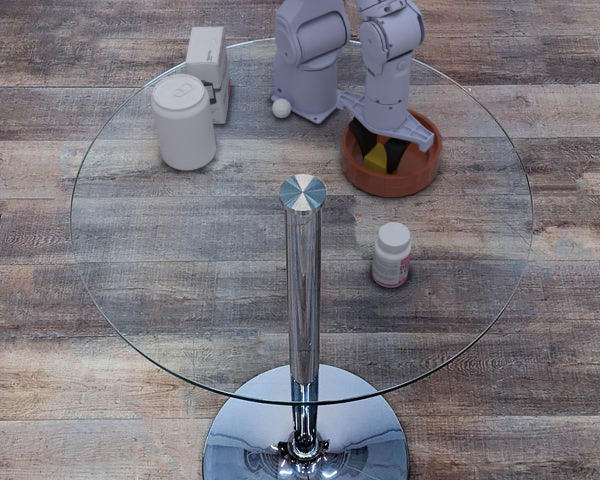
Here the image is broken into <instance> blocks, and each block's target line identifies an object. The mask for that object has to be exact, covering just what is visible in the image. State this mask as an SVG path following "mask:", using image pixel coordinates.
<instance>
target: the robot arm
mask: <svg viewBox="0 0 600 480" xmlns="http://www.w3.org/2000/svg"><path fill="white" fill-rule="evenodd" d="M353 2H354V3H355V6H356V9H357V11H358V12H357V13H358V14H359V17H360V19H361V22H362V23H361V24H360V26H359V27H357V35H358V39H359V43H360V46H361V49H362V60H363V64H364V65H365V66H366V67H365V68H366V69H365V85H364V94H360V93H354V92H352V91H349V90H347V89H344V90H341V89H340V88H338V58H339V56H340V55H342V54H343V47H345V46H347V45H348V44H349V43H350V40H351V37H352V36H351V35H352V29H351V23H350V19H349V17H348V15H347V11H346V8H345V2H344V0H284V1H282V4H281V5H280V6H279V7H278V9H276V11H275V13H274V16H275V31H274V40H275V45H276V48H277V50H276V51H275V54H274V57H273V60H272V81H273V95H271V97H270V100H271V101H272V102H273V103H274V102H275V101H276V100H278V99H281V98H282V99H286V100H287V101H288V102H290V105H291V108H292V109H291V113H295V114H296V115H297V116H300V117H302V118H304V119H305V120H308V121H310V122H312V123H314V124H315V125H320V124H322V123H323V122H324V121H325V120H326V119H327V118H328V117H329V116H330V115H331V114H333V112H335V110H336V109H338V110H340V111H345V110H348V111H349V112H350V113H351V114H352V115H353V117H352V119H353V120H352V119H351V120H352V121H351V120H350V121H351V122H350V121H349V122H350V123H349V122H348V123H349V130H350V132H351V133H352V134H353V135H354V137H355V139H356V140H357V142H358V145H359V147H360V150H361V154H362V157H363V160H364V157H365V156H366V155H367V154H368V153H369V152H370V151H371V150H372V149H373V148H374V147H375V146H376V145H377V134H379V135H383V136H388V137H390V138H389V140H388V141H387V142H386V143H385V144H384V148H385V151H386V155H387V164H386V168H387V173H389V174H392V173H393V172H394V171H395V170H396V169H397V168H398V166H399V163H400V161H401V158H402V156H403V154H404V152H405V151H406V149H407V148H408V146H409V145H410V143H411V142H413V143H415V144H417V145H419V150H421V151H423V152H426V151H427V150H428V149H429V148H430V147H431V146H432V145H433V139H434V134H433V133H432V132H430V131H428V130H427V129H426V128H425V127H423V126H422V125H421V124H420V123H419V122H418V121H417V120H416V119H415V118H414V117H413V116H412V115H411V114H410V113H409V112H408V111H407V109H408V102H409V93H410V85H411V76H412V65H413V56H414V49H416V48H418V47H420V46H421V45H423V43H424V42H425V39H426V25H425V21H424V18H423V14H422V12H421V10H420V9H419V8H418V6H417V5H416V4H415V3H414V1H413V0H353Z"/></svg>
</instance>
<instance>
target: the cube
mask: <svg viewBox="0 0 600 480" xmlns="http://www.w3.org/2000/svg"><path fill="white" fill-rule="evenodd" d="M386 164H387V155H386V151H385V148H384V145H382V144H380V143H378V144H377V145H376V146H375V147H374V148H373V149H372V150H371V151H370V152H369V153H368V154H367V155H366V156H365V157H364V168H366V169H368V170H370V171H372V172H376V173H380V174H385V175H391V174H389V173H387V168H386Z"/></svg>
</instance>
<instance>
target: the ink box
mask: <svg viewBox="0 0 600 480" xmlns="http://www.w3.org/2000/svg"><path fill="white" fill-rule="evenodd" d="M225 32H226V31H225V27H224V26H193V27H192V28H191V31H190V37H189V41H188V46H187V47H188V48H187V50H186V51H187V52H186V57H185V62H184V64H185V71H186V74H187V75H191V76H194V77H196V78H198V79H199V80H200V81H201V82H202V83H203V85H204V87H205V88H206V89H207V91H208V94H209V99H210V107H211V114H212V121H213V125H215V124H216V125H217V124H218V125H224V124H226V121H227V116H228V110H229V102H230V101H229V100H230V94H231V79H230V70H229V61H228V51H227V41H226V33H225Z"/></svg>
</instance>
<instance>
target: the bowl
mask: <svg viewBox="0 0 600 480" xmlns="http://www.w3.org/2000/svg"><path fill="white" fill-rule="evenodd" d="M407 111H408V112H409V113H410V114H411V115H412V116H413V117H414V118H415V119H416V120H417V121H418V122H419V123H420V124H421V125H422V126H423V127H425V128H426V129H427V130H428V131H430V132H432V133H433V134H434V139H433V145H432V146H431V147H430V148H429V149H428V150H427V151H426V152H423V151H421V150H419V145H417V144H415V143H413V142H411V143H410V145H409V146H408V148H407V149H406V151H405V152H404V154H403V156H402V158H401V161H400V163H399V166H398V168H397V169H396V170H395V171H394V172H393V173H392V174H391V175H385V174H380V173H376V172H372V171H370V170H368V169H366V168H364V160H363V157H362V154H361V150H360V147H359V145H358V142H357V140H356V139H355V137H354V135H353V134H352V133H351V132H350V130H349V123H350V122H351V121H352V120H353V118H352V119H351V120H350V121H349V122H348V123H346V126H345V128H344V129H343V132H342V134H341V149H340V150H341V151H340V165H341V168H342V170H343V173H344V175H345V177H346V178H347V179H348V180H349V181H350V182H351V183H352V184H353V185H354V186H355V187H357V188H359V189H361V190H362V191H364V192H366V193H368V194H372V195H374V196H375V195H376V196H379V197H383V198H400V197H404V196H409V195H413V194H416V193H418V192H420V191H421V190H423V189H425V188H427V187H428V186H429V185H430V183H432V181H434V180H435V178H436V177H437V175H438V171H439V168H440V166H441V165H440V164H441V158H442V154H443V153H442V152H443V139H442V138H443V137H442V134H441V132H440V131H439V129H438V127H437V125H436V124H435V123H434V122H432V121H431V120H430V119H429V117H427V116H426V115H424V114H421V113H420V112H417V111H415V110H413V109H409V108H407ZM389 138H390V137H388V136H383V135H379V134H377V144H378V143H380V144H382V145H384V144H385V143H386V142H387V141H388V140H389Z"/></svg>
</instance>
